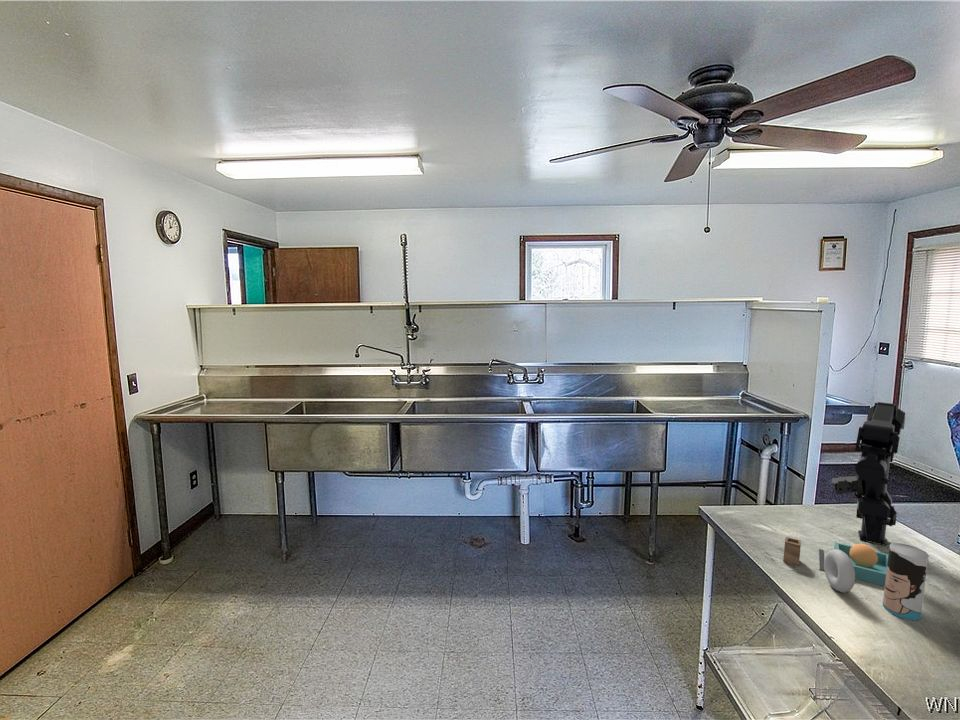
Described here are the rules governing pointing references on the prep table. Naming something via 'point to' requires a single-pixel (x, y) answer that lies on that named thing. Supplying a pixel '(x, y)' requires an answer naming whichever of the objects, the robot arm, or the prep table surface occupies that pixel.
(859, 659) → the prep table surface
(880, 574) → the tray
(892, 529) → the prep table surface
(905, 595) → the cup
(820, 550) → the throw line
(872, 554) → the ball
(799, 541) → the tee
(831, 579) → the donut
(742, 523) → the prep table surface
